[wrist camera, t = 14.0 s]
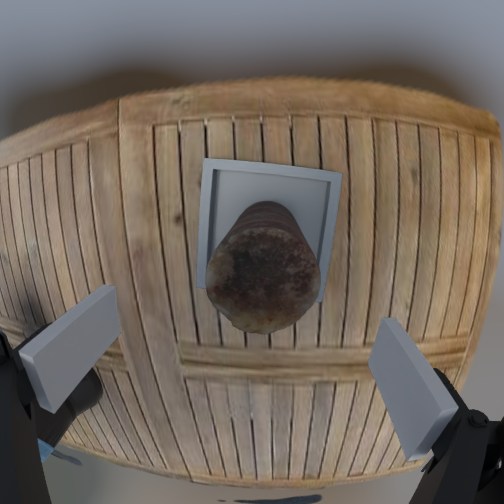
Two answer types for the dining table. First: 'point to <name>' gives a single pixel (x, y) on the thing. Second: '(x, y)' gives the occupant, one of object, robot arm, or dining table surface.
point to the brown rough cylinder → (263, 271)
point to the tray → (267, 189)
